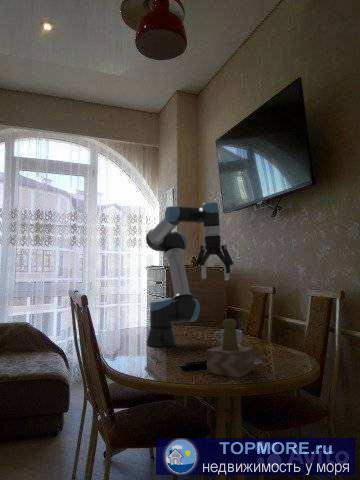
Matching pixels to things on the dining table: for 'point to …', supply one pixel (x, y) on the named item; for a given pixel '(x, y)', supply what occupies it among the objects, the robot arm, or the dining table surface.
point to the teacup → (238, 335)
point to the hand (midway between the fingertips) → (215, 279)
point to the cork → (229, 335)
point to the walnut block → (230, 361)
